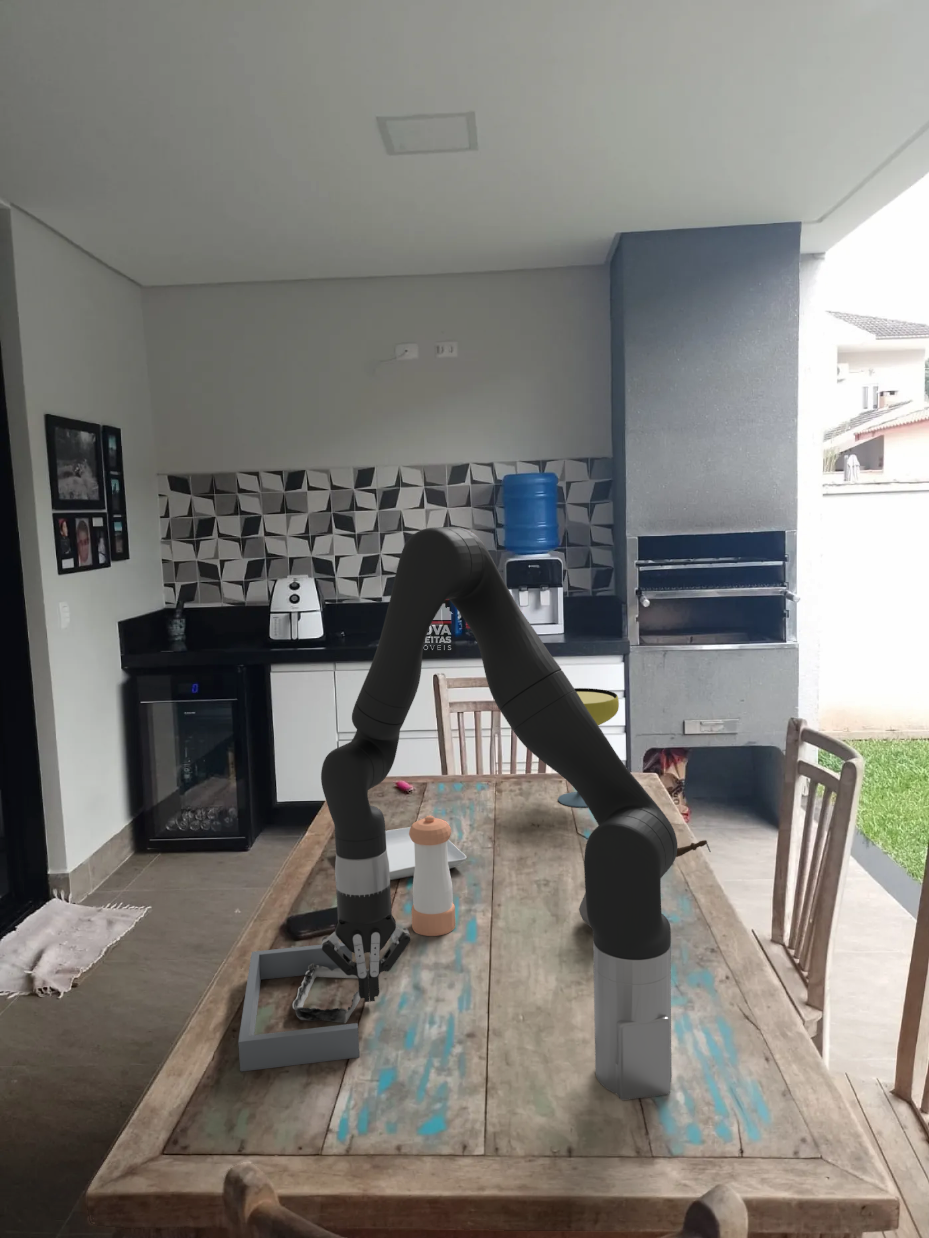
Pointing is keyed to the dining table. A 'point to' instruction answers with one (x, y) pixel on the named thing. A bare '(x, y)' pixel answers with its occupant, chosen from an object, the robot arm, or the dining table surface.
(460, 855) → the salad plate
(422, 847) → the pepper shaker
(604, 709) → the cocktail glass
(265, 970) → the bin
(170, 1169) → the dining table surface
